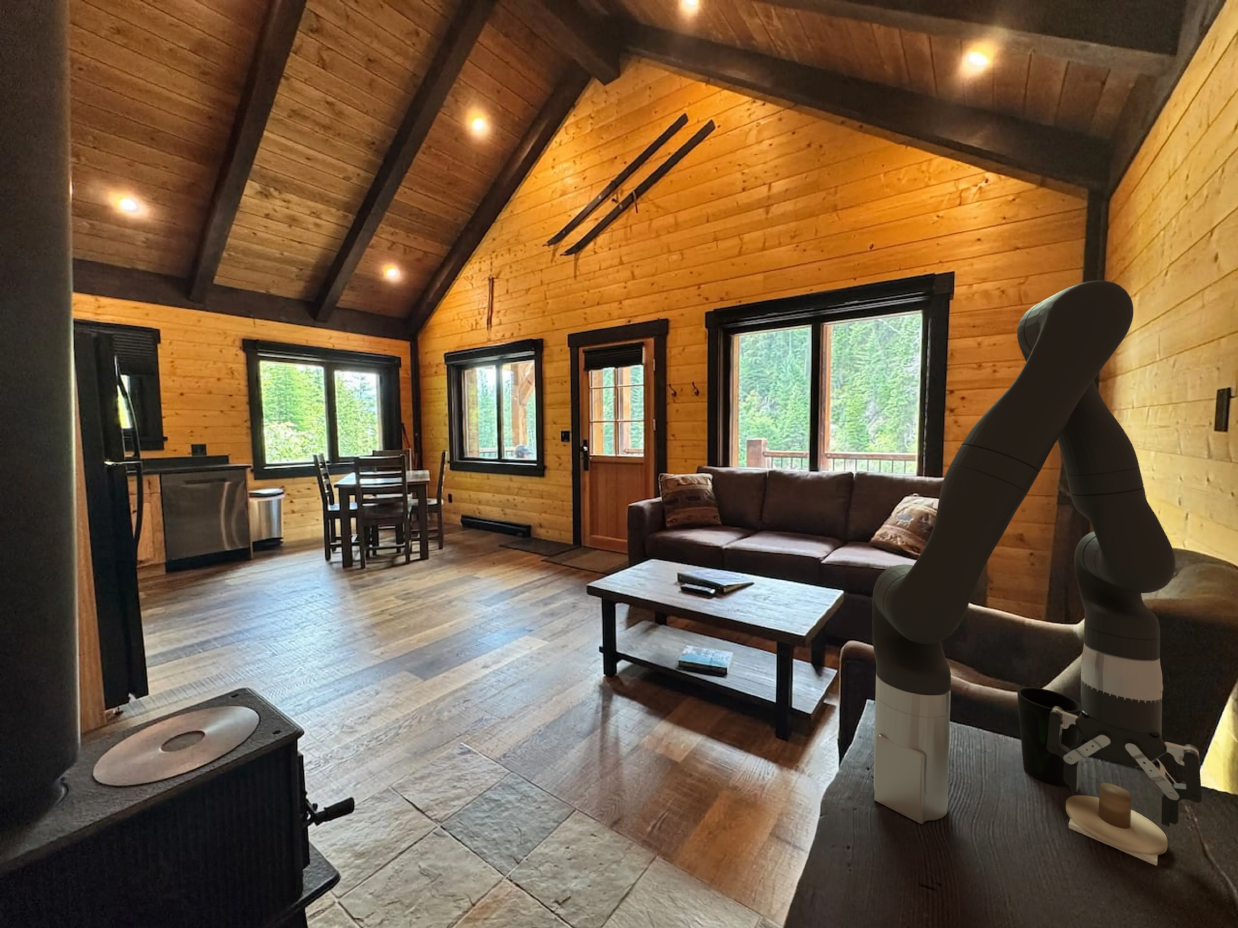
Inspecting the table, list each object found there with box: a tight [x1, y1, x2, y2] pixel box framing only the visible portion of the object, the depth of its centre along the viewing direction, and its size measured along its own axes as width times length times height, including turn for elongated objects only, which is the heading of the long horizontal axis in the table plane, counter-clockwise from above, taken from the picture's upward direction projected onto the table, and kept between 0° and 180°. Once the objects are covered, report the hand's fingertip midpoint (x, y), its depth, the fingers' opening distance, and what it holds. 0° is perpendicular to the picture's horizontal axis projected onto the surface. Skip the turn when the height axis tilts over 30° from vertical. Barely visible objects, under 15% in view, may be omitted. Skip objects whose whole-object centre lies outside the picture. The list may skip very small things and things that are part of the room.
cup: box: [1016, 686, 1081, 788], centre depth 77 cm, size 8×8×12 cm
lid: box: [1065, 782, 1169, 856], centre depth 66 cm, size 10×10×5 cm
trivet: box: [1068, 817, 1159, 867], centre depth 66 cm, size 8×8×1 cm
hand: (1118, 804), depth 66 cm, fingers open, 8 cm apart
